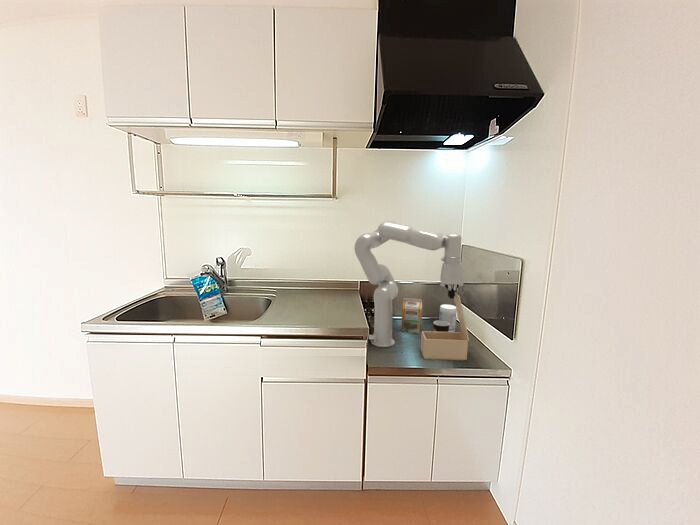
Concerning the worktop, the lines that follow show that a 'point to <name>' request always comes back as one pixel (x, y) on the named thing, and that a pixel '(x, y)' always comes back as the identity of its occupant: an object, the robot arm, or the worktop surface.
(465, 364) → the worktop surface
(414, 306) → the printed food package
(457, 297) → the carton flap
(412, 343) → the worktop surface
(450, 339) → the carton
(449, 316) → the supplement tub
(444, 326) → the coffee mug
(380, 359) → the worktop surface
